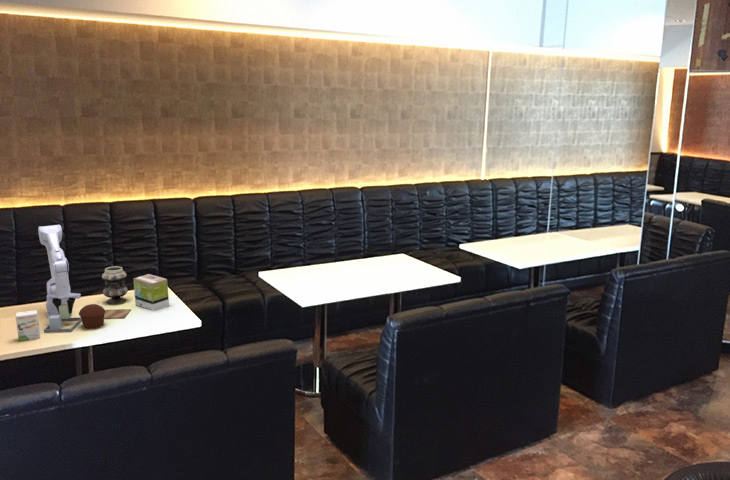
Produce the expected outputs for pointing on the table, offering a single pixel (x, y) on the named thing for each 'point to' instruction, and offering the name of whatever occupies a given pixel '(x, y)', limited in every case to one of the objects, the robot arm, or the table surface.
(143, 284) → the tea box
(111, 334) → the table surface
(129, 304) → the table surface
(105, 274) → the apothecary jar
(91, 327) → the muffin
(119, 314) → the walnut board
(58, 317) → the blue block
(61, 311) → the sage block
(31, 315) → the ink box
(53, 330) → the parts tray
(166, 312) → the table surface
